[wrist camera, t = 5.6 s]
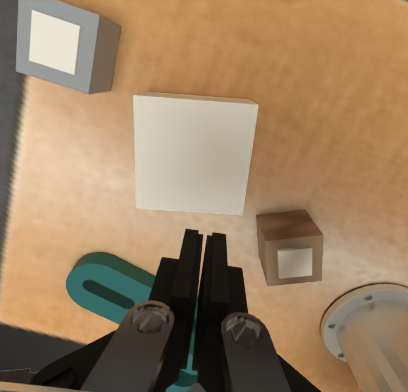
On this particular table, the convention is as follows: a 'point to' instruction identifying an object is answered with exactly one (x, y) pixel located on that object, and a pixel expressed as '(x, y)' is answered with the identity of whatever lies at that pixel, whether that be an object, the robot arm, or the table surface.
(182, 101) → the plain block
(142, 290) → the bracket
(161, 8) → the table surface
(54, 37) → the slate block
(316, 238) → the walnut block
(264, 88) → the table surface
